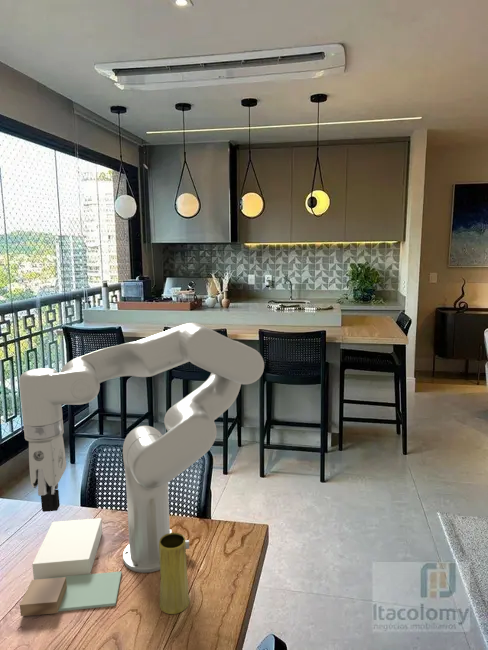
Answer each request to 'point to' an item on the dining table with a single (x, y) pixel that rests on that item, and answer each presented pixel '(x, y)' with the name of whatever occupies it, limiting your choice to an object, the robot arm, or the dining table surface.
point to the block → (43, 596)
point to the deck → (68, 549)
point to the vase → (173, 574)
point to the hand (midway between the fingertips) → (51, 509)
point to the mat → (91, 591)
